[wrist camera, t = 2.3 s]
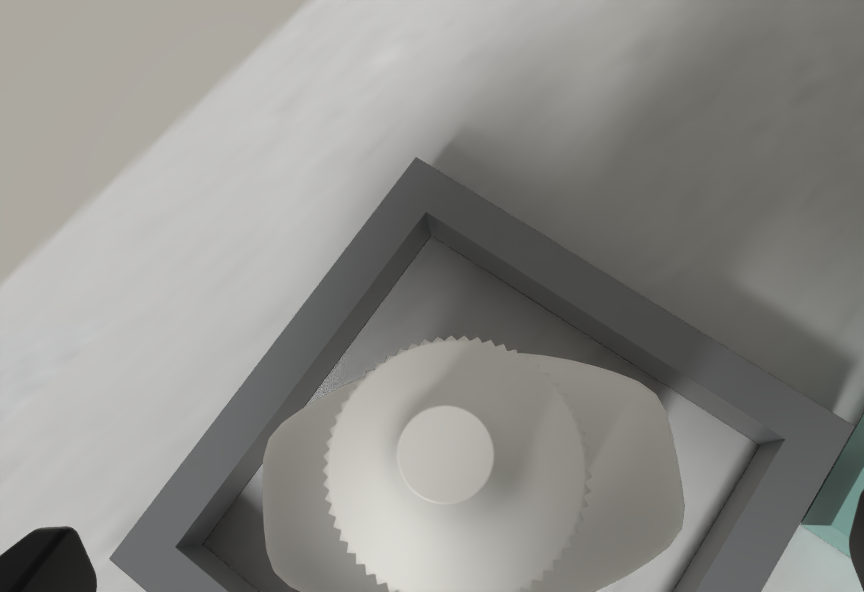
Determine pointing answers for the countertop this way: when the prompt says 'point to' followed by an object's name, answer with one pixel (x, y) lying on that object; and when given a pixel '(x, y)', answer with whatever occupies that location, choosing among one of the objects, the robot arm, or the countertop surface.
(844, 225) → the countertop surface
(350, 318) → the upper socket
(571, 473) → the eye dropper bottle
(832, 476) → the lower socket
